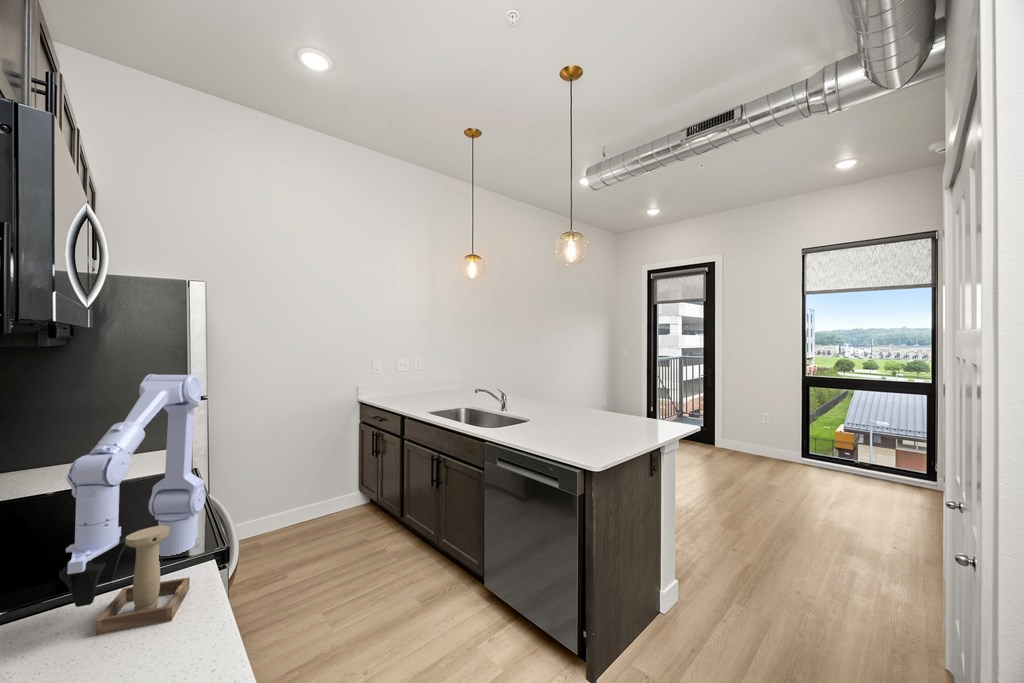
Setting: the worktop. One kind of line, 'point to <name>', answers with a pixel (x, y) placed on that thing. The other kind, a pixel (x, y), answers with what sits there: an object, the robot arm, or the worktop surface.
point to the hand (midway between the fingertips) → (95, 592)
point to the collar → (146, 617)
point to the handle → (147, 565)
